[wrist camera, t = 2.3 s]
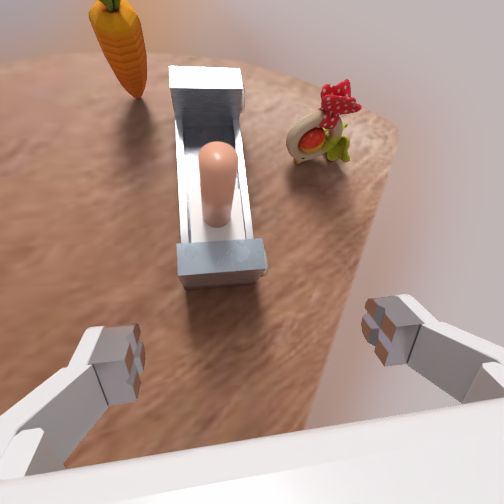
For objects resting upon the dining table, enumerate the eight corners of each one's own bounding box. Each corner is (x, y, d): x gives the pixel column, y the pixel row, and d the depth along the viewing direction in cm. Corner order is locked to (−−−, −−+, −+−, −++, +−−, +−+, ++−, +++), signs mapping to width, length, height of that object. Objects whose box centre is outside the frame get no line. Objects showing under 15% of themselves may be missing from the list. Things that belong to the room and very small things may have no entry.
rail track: (185, 291, 33) (177, 276, 26) (176, 115, 40) (169, 65, 32) (259, 284, 34) (271, 269, 27) (238, 115, 41) (244, 67, 34)
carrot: (164, 97, 40) (139, -37, 26) (138, 118, 39) (96, -12, 24) (137, 77, 41) (98, -65, 26) (111, 97, 39) (53, -43, 25)
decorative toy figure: (302, 187, 41) (363, 157, 40) (293, 149, 31) (376, 106, 29) (285, 151, 43) (343, 121, 41) (270, 103, 32) (348, 60, 31)
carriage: (193, 251, 32) (181, 196, 20) (190, 202, 34) (178, 125, 22) (242, 247, 33) (260, 193, 21) (237, 200, 35) (251, 124, 23)
